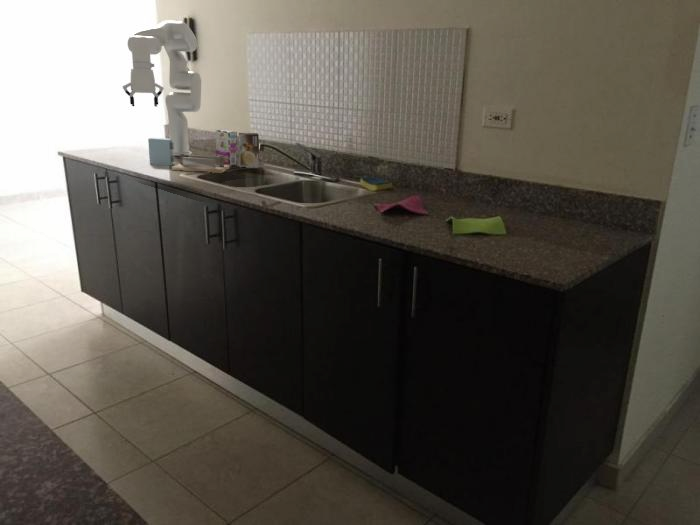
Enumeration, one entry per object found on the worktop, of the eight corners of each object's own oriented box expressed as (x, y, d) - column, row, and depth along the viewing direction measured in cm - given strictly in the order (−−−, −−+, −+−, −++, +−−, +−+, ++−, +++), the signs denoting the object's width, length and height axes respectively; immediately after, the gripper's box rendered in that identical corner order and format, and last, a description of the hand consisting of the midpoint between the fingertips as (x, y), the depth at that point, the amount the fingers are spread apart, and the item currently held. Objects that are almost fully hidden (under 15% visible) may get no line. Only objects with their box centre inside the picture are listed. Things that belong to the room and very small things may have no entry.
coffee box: (257, 165, 290) (257, 132, 285) (259, 168, 285) (259, 134, 279) (238, 165, 288) (238, 132, 283) (240, 168, 282) (239, 134, 277)
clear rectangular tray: (184, 164, 284) (183, 151, 281) (230, 167, 282) (230, 154, 280) (172, 170, 269) (171, 155, 267) (221, 173, 268) (220, 158, 265)
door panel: (153, 162, 285) (151, 137, 281) (176, 164, 284) (174, 139, 280) (149, 164, 281) (148, 138, 278) (172, 165, 281) (171, 140, 277)
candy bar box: (237, 165, 288) (237, 131, 283) (229, 166, 285) (228, 132, 279) (224, 162, 295) (223, 129, 290) (215, 163, 292) (214, 129, 287)
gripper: (161, 66, 266) (163, 105, 271) (120, 65, 259) (123, 105, 264) (163, 67, 260) (165, 107, 265) (121, 65, 252) (124, 106, 258)
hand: (144, 106), depth 265 cm, fingers open, 9 cm apart
